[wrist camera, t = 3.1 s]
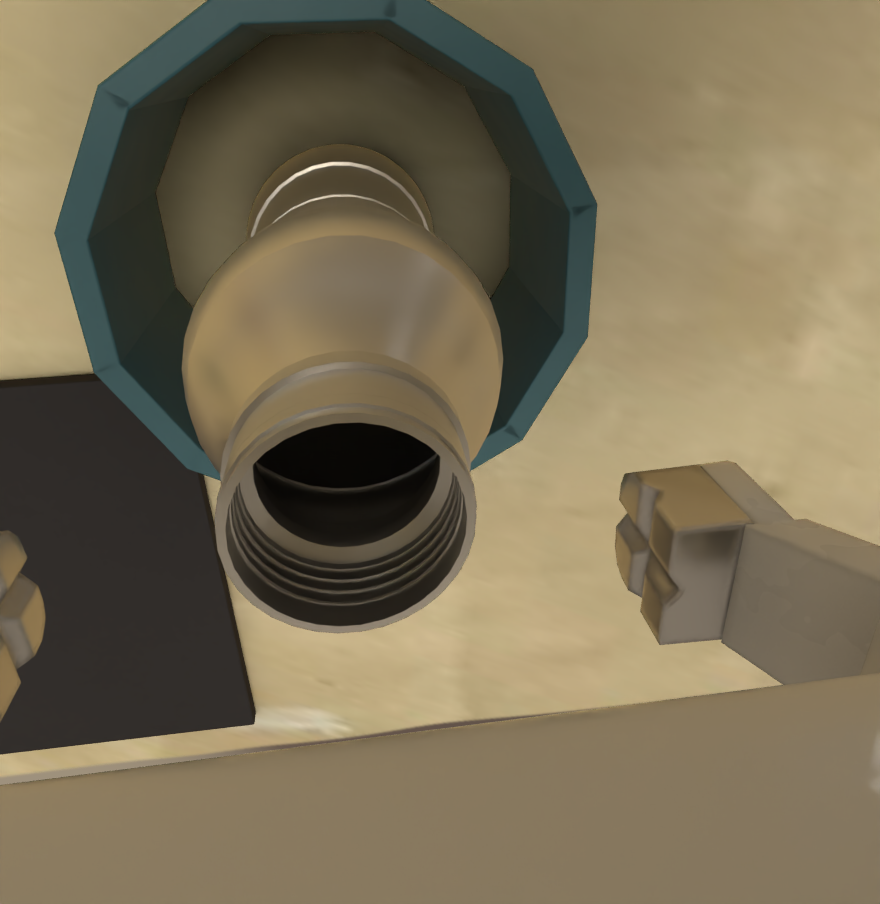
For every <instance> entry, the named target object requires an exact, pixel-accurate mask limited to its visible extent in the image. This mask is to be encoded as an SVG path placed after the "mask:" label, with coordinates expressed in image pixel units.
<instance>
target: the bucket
mask: <svg viewBox="0 0 880 904" xmlns="http://www.w3.org/2000/svg"><path fill="white" fill-rule="evenodd" d="M353 32H376V33H378V34H379V35H381V36H382V37H384V38H386V39H387V40H389V41H391V42H392V43H394V44H396V45H397V46H399V47H400V48H402V49H404V50H405V51H407V52H409V53H410V54H412V55H414V56H415V57H417V58H418V59H420V60H422V61H423V62H425V63H427V64H428V65H430V66H431V67H433V68H435V69H436V70H438V71H440V72H441V73H443V74H445V75H446V76H448V77H449V78H451V79H453V80H454V81H456V82H458V83H459V84H461V85H463V86H464V87H465V89H466V91H467V93H468V95H469V97H470V99H471V101H472V102H473V104H474V106H475V108H476V110H477V112H478V114H479V116H480V117H481V119H482V121H483V123H484V125H485V127H486V129H487V131H488V133H489V134H490V136H491V138H492V140H493V142H494V144H495V146H496V148H497V149H498V151H499V153H500V155H501V157H502V159H503V161H504V163H505V165H506V166H507V168H508V170H509V172H510V174H511V186H510V246H509V268H508V270H507V272H506V273H505V275H504V277H503V279H502V281H501V282H500V284H499V286H498V288H497V289H496V291H495V293H494V295H493V296H492V298H491V300H490V301H491V303H492V306H493V309H494V312H495V315H496V319H497V322H498V325H499V328H500V333H501V343H502V352H503V367H502V377H501V387H500V393H499V399H498V404H497V408H496V411H495V414H494V418H493V421H492V424H491V428H490V431H489V433H488V435H487V437H486V439H485V441H484V442H483V444H482V446H481V448H480V450H479V452H478V454H477V456H476V457H475V458H474V459H473V461H472V462H471V469H470V471H471V470H473V469H474V468H476V467H478V466H479V465H481V464H483V463H484V462H486V461H488V460H489V459H491V458H493V457H494V456H496V455H498V454H500V453H501V452H503V451H505V450H506V449H508V448H510V447H511V446H513V445H515V444H516V443H518V442H520V441H521V440H523V438H524V436H525V435H526V433H527V432H528V430H529V428H530V427H531V425H532V424H533V422H534V421H535V419H536V417H537V416H538V414H539V413H540V411H541V410H542V408H543V406H544V405H545V403H546V402H547V400H548V399H549V397H550V395H551V394H552V392H553V391H554V389H555V388H556V386H557V384H558V383H559V381H560V380H561V378H562V377H563V375H564V373H565V372H566V370H567V369H568V367H569V366H570V364H571V362H572V361H573V359H574V358H575V356H576V355H577V353H578V351H579V350H580V348H581V347H582V345H583V343H584V342H585V340H586V339H587V337H588V325H589V311H590V298H591V284H592V270H593V257H594V243H595V229H596V215H597V203H596V200H595V198H594V196H593V194H592V192H591V190H590V188H589V185H588V183H587V181H586V179H585V177H584V175H583V173H582V171H581V169H580V167H579V165H578V162H577V160H576V158H575V156H574V154H573V152H572V150H571V148H570V146H569V144H568V142H567V140H566V137H565V135H564V133H563V131H562V129H561V127H560V125H559V123H558V121H557V119H556V117H555V114H554V112H553V110H552V108H551V106H550V104H549V102H548V100H547V98H546V96H545V94H544V91H543V89H542V87H541V85H540V83H539V81H538V79H537V77H536V75H535V73H534V70H533V69H532V68H531V67H529V66H528V65H526V64H525V63H523V62H521V61H520V60H518V59H517V58H515V57H514V56H512V55H511V54H509V53H507V52H506V51H504V50H503V49H501V48H500V47H498V46H497V45H495V44H493V43H492V42H490V41H489V40H487V39H486V38H484V37H483V36H481V35H479V34H478V33H476V32H475V31H473V30H472V29H470V28H469V27H467V26H466V25H464V24H462V23H461V22H459V21H458V20H456V19H455V18H453V17H452V16H450V15H448V14H447V13H445V12H444V11H442V10H441V9H439V8H438V7H436V6H434V5H433V4H431V3H430V2H428V1H427V0H207V1H206V2H205V3H203V4H202V5H201V6H200V7H198V8H197V9H196V10H194V11H193V12H192V13H191V14H189V15H188V16H187V17H185V18H184V19H183V20H181V21H180V22H179V23H178V24H176V25H175V26H174V27H172V28H171V29H170V30H169V31H167V32H166V33H165V34H163V35H162V36H161V37H160V38H158V39H157V40H156V41H154V42H153V43H152V44H150V45H149V46H148V47H147V48H145V49H144V50H143V51H141V52H140V53H139V54H138V55H136V56H135V57H134V58H132V59H131V60H130V61H129V62H127V63H126V64H125V65H123V66H122V67H121V68H119V69H118V70H117V71H116V72H114V73H113V74H112V75H110V76H109V77H108V78H107V79H105V80H104V81H103V82H101V83H100V84H99V85H98V87H97V90H96V94H95V97H94V100H93V104H92V107H91V111H90V114H89V117H88V121H87V124H86V127H85V131H84V134H83V138H82V141H81V144H80V148H79V151H78V155H77V158H76V161H75V165H74V168H73V172H72V175H71V178H70V182H69V185H68V188H67V192H66V195H65V199H64V202H63V205H62V209H61V212H60V216H59V219H58V222H57V226H56V229H55V232H54V234H55V236H56V240H57V243H58V247H59V250H60V254H61V258H62V261H63V265H64V268H65V272H66V275H67V279H68V282H69V286H70V289H71V293H72V296H73V300H74V303H75V307H76V310H77V314H78V318H79V321H80V325H81V328H82V332H83V335H84V339H85V342H86V346H87V349H88V353H89V356H90V360H91V363H92V367H93V371H94V373H95V374H96V375H97V376H98V377H99V378H100V379H101V380H102V382H103V383H104V384H105V385H106V386H107V387H108V388H109V389H110V390H111V391H112V392H113V393H114V394H115V395H116V396H117V397H118V398H119V399H120V400H121V401H122V402H123V403H124V404H125V405H126V406H127V407H128V408H129V409H130V410H131V411H132V412H133V413H134V414H135V415H136V416H137V417H138V419H139V420H140V421H141V422H142V423H143V424H144V425H145V426H146V427H147V428H148V429H149V430H150V431H151V432H152V433H153V434H154V435H155V436H156V437H157V438H158V439H159V440H160V441H161V442H162V443H163V444H164V445H165V446H166V447H167V448H168V449H169V450H170V451H171V452H172V453H173V454H174V456H175V457H176V458H177V459H178V460H179V461H180V462H181V463H182V464H183V465H184V466H185V467H186V468H187V469H190V470H193V471H195V472H198V473H201V474H204V475H206V476H209V477H212V478H215V479H217V480H220V473H219V472H218V471H217V470H216V469H215V468H214V466H213V465H212V463H211V461H210V460H209V458H208V456H207V455H206V453H205V451H204V450H203V448H202V446H201V445H200V443H199V440H198V437H197V434H196V432H195V429H194V426H193V423H192V420H191V417H190V414H189V410H188V407H187V403H186V399H185V392H184V384H183V376H182V358H183V346H184V337H185V334H186V331H187V327H188V324H189V321H190V318H191V314H192V311H193V308H192V307H191V306H190V304H189V303H188V302H187V301H186V300H185V298H184V297H183V296H182V295H181V294H180V293H179V291H178V290H177V289H176V288H175V284H174V279H173V274H172V269H171V265H170V260H169V255H168V251H167V246H166V241H165V236H164V232H163V227H162V222H161V217H160V213H159V208H158V203H157V198H156V194H155V192H156V189H157V186H158V183H159V180H160V177H161V174H162V171H163V168H164V165H165V163H166V160H167V157H168V154H169V151H170V148H171V145H172V142H173V139H174V136H175V134H176V131H177V128H178V125H179V122H180V119H181V116H182V113H183V110H184V107H185V105H186V102H187V99H188V96H190V95H191V94H192V93H194V92H195V91H196V90H198V89H199V88H200V87H202V86H203V85H204V84H206V83H207V82H208V81H210V80H211V79H212V78H214V77H215V76H216V75H218V74H219V73H220V72H222V71H223V70H224V69H226V68H227V67H228V66H230V65H231V64H232V63H234V62H235V61H236V60H238V59H239V58H240V57H242V56H243V55H244V54H246V53H247V52H248V51H250V50H251V49H252V48H254V47H255V46H256V45H258V44H259V43H260V42H262V41H263V40H264V39H266V38H267V37H268V36H270V35H287V34H320V33H353ZM220 481H221V480H220Z"/></svg>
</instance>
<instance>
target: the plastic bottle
mask: <svg viewBox="0 0 880 904" xmlns="http://www.w3.org/2000/svg"><path fill="white" fill-rule="evenodd" d="M502 367H503V352H502V343H501V333H500V328H499V325H498V322H497V319H496V315H495V312H494V309H493V306H492V303H491V301H490V299H489V297H488V295H487V294H486V292H485V290H484V288H483V287H482V285H481V283H480V281H479V280H478V278H477V276H476V275H475V273H474V272H473V271H472V270H471V269H470V268H469V267H468V266H467V264H466V263H465V262H464V261H463V260H462V259H461V258H460V257H459V255H458V254H457V253H456V252H455V251H454V250H453V249H452V248H450V247H449V246H448V245H447V244H446V243H445V242H443V241H442V240H441V239H439V238H438V237H436V236H435V235H434V231H433V224H432V218H431V215H430V212H429V209H428V206H427V203H426V200H425V199H424V197H423V195H422V193H421V192H420V190H419V188H418V187H417V185H416V183H415V182H414V181H413V180H412V179H411V178H410V176H409V175H408V174H407V173H406V172H405V171H404V170H403V169H402V168H401V167H400V166H398V165H397V164H396V163H394V162H393V161H392V160H390V159H389V158H388V157H386V156H384V155H382V154H379V153H377V152H375V151H373V150H371V149H368V148H363V147H359V146H354V145H349V144H330V145H325V146H320V147H316V148H311V149H309V150H307V151H304V152H302V153H300V154H298V155H296V156H293V157H292V158H291V159H289V160H288V161H287V162H285V163H284V164H282V165H281V166H280V167H278V168H277V169H276V170H275V171H274V173H273V174H272V175H271V176H270V177H269V178H268V179H267V181H266V182H265V183H264V184H263V186H262V188H261V189H260V191H259V193H258V195H257V197H256V198H255V200H254V203H253V206H252V209H251V212H250V215H249V218H248V224H247V233H246V242H244V243H243V244H242V245H240V246H239V247H238V249H237V250H236V251H235V252H234V253H232V255H231V256H230V257H229V258H228V259H227V260H226V261H225V262H224V264H223V265H222V266H221V267H220V268H219V269H218V270H217V271H216V272H215V274H214V275H213V276H212V277H211V278H210V280H209V281H208V283H207V285H206V287H205V288H204V290H203V292H202V294H201V295H200V297H199V299H198V301H197V302H196V304H195V306H194V308H193V311H192V314H191V318H190V321H189V324H188V327H187V331H186V334H185V337H184V346H183V358H182V376H183V384H184V392H185V399H186V403H187V407H188V410H189V414H190V417H191V420H192V423H193V426H194V429H195V432H196V434H197V437H198V440H199V443H200V445H201V446H202V448H203V450H204V451H205V453H206V455H207V456H208V458H209V460H210V461H211V463H212V465H213V466H214V468H215V469H216V470H217V471H218V472H219V473H220V480H221V487H220V491H219V494H218V497H217V505H216V513H215V533H216V541H217V550H218V553H219V556H220V559H221V561H222V564H223V567H224V569H225V572H226V573H227V575H228V576H229V578H230V579H231V581H232V582H233V584H234V585H235V587H236V588H237V590H238V591H239V592H240V593H241V594H242V595H243V596H244V597H245V598H246V599H247V600H248V601H249V602H250V603H251V604H252V605H254V606H255V607H257V608H258V609H260V610H261V611H263V612H264V613H266V614H267V615H269V616H270V617H272V618H275V619H277V620H279V621H282V622H284V623H286V624H289V625H291V626H294V627H298V628H303V629H307V630H311V631H316V632H328V633H349V632H362V631H366V630H371V629H375V628H379V627H384V626H387V625H389V624H392V623H394V622H397V621H399V620H402V619H404V618H407V617H408V616H410V615H412V614H413V613H415V612H417V611H418V610H420V609H422V608H424V607H425V606H427V605H428V604H429V603H430V602H431V601H433V600H434V599H435V598H436V597H437V596H439V595H440V594H441V593H442V592H443V591H444V590H445V589H446V588H447V587H448V585H449V584H450V583H451V582H452V581H453V579H454V578H455V577H456V576H457V575H458V573H459V571H460V569H461V568H462V566H463V564H464V562H465V560H466V559H467V557H468V555H469V551H470V548H471V545H472V542H473V539H474V536H475V524H476V507H477V505H476V498H475V491H474V484H473V481H472V478H471V475H470V469H471V462H472V461H473V459H474V458H475V457H476V456H477V454H478V452H479V450H480V448H481V446H482V444H483V442H484V441H485V439H486V437H487V435H488V433H489V431H490V428H491V424H492V421H493V418H494V414H495V411H496V408H497V404H498V399H499V393H500V387H501V377H502Z"/></svg>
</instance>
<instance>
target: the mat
mask: <svg viewBox="0 0 880 904" xmlns="http://www.w3.org/2000/svg"><path fill="white" fill-rule="evenodd" d="M7 530H9V531H10V532H12V533H13V534H15V535H17V536H18V537H19V539H20V541H21V544H22V546H23V548H24V551H25V553H26V555H27V560H26V562H25V564H24V566H23V568H22V570H21V572H20V573H21V574H23V575H24V576H26V577H27V578H28V579H30V580H31V581H33V582H34V583H35V584H37V585H38V587H39V590H40V593H41V596H42V598H43V603H44V610H45V617H46V618H45V625H44V632H43V639H42V642H41V644H40V646H39V648H38V650H37V652H36V654H35V656H34V657H33V658H31V659H30V660H29V661H27V662H26V663H25V664H23V665H22V666H21V667H19V668H18V669H17V670H16V671H17V674H18V676H19V678H20V681H21V684H20V686H19V687H18V689H17V691H16V693H15V695H14V697H13V699H12V701H11V703H10V705H9V707H8V709H7V711H6V712H5V714H4V716H3V718H2V720H1V722H0V754H8V753H16V752H25V751H33V750H41V749H50V748H58V747H67V746H75V745H84V744H92V743H101V742H109V741H117V740H126V739H134V738H143V737H151V736H160V735H168V734H176V733H185V732H193V731H202V730H210V729H219V728H227V727H235V726H244V725H252V724H254V722H255V714H256V712H255V708H254V703H253V699H252V694H251V690H250V685H249V681H248V676H247V672H246V667H245V662H244V658H243V653H242V649H241V644H240V640H239V635H238V631H237V626H236V622H235V617H234V613H233V608H232V604H231V599H230V594H229V590H228V585H227V581H226V576H225V572H224V567H223V564H222V561H221V559H220V556H219V553H218V550H217V541H216V533H215V526H214V522H213V517H212V513H211V508H210V504H209V499H208V495H207V490H206V486H205V481H204V477H203V474H201V473H198V472H195V471H193V470H190V469H187V468H186V467H185V466H184V465H183V464H182V463H181V462H180V461H179V460H178V459H177V458H176V457H175V456H174V454H173V453H172V452H171V451H170V450H169V449H168V448H167V447H166V446H165V445H164V444H163V443H162V442H161V441H160V440H159V439H158V438H157V437H156V436H155V435H154V434H153V433H152V432H151V431H150V430H149V429H148V428H147V427H146V426H145V425H144V424H143V423H142V422H141V421H140V420H139V419H138V417H137V416H136V415H135V414H134V413H133V412H132V411H131V410H130V409H129V408H128V407H127V406H126V405H125V404H124V403H123V402H122V401H121V400H120V399H119V398H118V397H117V396H116V395H115V394H114V393H113V392H112V391H111V390H110V389H109V388H108V387H107V386H106V385H105V384H104V383H103V382H102V380H101V379H100V378H99V377H98V376H97V375H96V374H90V375H76V376H62V377H48V378H34V379H21V380H7V381H0V531H7Z"/></svg>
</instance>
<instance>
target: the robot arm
mask: <svg viewBox="0 0 880 904" xmlns="http://www.w3.org/2000/svg"><path fill="white" fill-rule="evenodd" d="M619 500H620V502H621V503H622V505H623V506H624V508H625V509H626V511H627V514H626V515H625V517H624V518H623V519H622V520H621V521H620V523H619V524H618V525H617V526H616V539H615V550H616V558H617V565H618V568H619V571H620V574H621V577H622V579H623V581H624V583H625V585H626V587H627V589H628V590H629V591H631V592H633V593H634V594H636V595H638V596H640V597H641V598H642V602H641V611H640V612H641V613H642V615H643V617H644V619H645V620H646V622H647V624H648V625H649V627H650V629H651V631H652V632H653V634H654V636H655V638H656V639H657V641H658V643H659V645H665V644H676V643H687V642H698V641H709V640H720V639H722V641H721V642H722V643H723V644H725V645H726V646H728V647H729V648H731V649H732V650H733V651H735V652H736V653H738V654H739V655H741V656H742V657H744V658H745V659H747V660H748V661H749V662H751V663H752V664H754V665H755V666H757V667H758V668H760V669H761V670H763V671H764V672H766V673H767V674H768V675H770V676H771V677H773V678H774V679H776V680H777V681H779V682H780V683H782V684H783V685H780V686H772V687H764V688H756V689H749V690H741V691H733V692H725V693H717V694H709V695H702V696H694V697H686V698H678V699H670V700H663V701H655V702H647V703H639V704H631V705H624V706H616V707H608V708H600V709H592V710H584V711H577V712H569V713H561V714H553V715H545V716H538V717H530V718H522V719H514V720H507V721H499V722H491V723H484V724H475V725H467V726H460V727H452V728H445V729H437V730H428V731H421V732H413V733H406V734H397V735H390V736H382V737H374V738H366V739H359V740H350V741H343V742H335V743H327V744H319V745H311V746H303V747H296V748H288V749H280V750H272V751H264V752H256V753H249V754H241V755H233V756H225V757H217V758H209V759H201V760H194V761H186V762H178V763H170V764H162V765H154V766H146V767H139V768H131V769H123V770H115V771H107V772H99V773H92V774H84V775H77V776H68V777H61V778H52V779H45V780H37V781H30V782H22V783H13V784H5V785H0V904H880V546H878V545H875V544H872V543H870V542H867V541H864V540H862V539H859V538H856V537H854V536H851V535H848V534H845V533H843V532H840V531H837V530H835V529H832V528H829V527H826V526H824V525H821V524H818V523H816V522H813V521H810V520H808V519H798V520H794V519H793V518H792V517H791V516H790V515H789V514H788V513H787V512H786V511H785V510H784V509H783V508H782V507H781V506H780V505H779V504H778V503H777V502H776V501H775V500H774V499H773V498H771V497H770V496H769V495H768V494H767V493H766V492H765V491H764V490H763V489H762V488H761V487H760V486H759V485H758V484H757V483H756V482H755V481H754V480H753V479H752V478H751V477H750V476H749V475H748V474H747V473H746V472H745V471H744V470H742V469H741V468H740V467H739V466H738V465H737V464H736V463H734V462H730V461H720V462H713V463H706V464H698V465H690V466H682V467H673V468H665V469H657V470H648V471H640V472H632V473H626V474H625V475H624V477H623V480H622V483H621V488H620V497H619ZM26 560H27V555H26V553H25V551H24V548H23V546H22V544H21V541H20V539H19V537H18V536H17V535H15V534H13V533H12V532H10V531H9V530H7V531H0V722H1V720H2V718H3V716H4V714H5V712H6V711H7V709H8V707H9V705H10V703H11V701H12V699H13V697H14V695H15V693H16V691H17V689H18V687H19V686H20V684H21V681H20V678H19V676H18V674H17V671H16V670H17V669H18V668H19V667H21V666H22V665H23V664H25V663H26V662H27V661H29V660H30V659H31V658H33V657H34V656H35V654H36V652H37V650H38V648H39V646H40V644H41V642H42V639H43V632H44V625H45V618H46V617H45V610H44V603H43V598H42V596H41V593H40V590H39V587H38V585H37V584H35V583H34V582H33V581H31V580H30V579H28V578H27V577H26V576H24V575H23V574H21V573H20V572H21V570H22V568H23V566H24V564H25V562H26Z"/></svg>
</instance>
